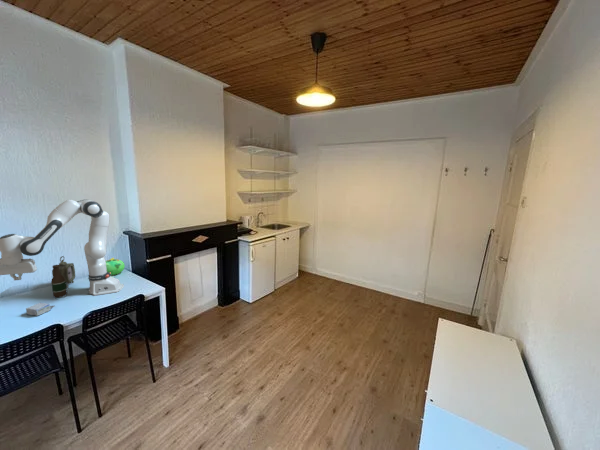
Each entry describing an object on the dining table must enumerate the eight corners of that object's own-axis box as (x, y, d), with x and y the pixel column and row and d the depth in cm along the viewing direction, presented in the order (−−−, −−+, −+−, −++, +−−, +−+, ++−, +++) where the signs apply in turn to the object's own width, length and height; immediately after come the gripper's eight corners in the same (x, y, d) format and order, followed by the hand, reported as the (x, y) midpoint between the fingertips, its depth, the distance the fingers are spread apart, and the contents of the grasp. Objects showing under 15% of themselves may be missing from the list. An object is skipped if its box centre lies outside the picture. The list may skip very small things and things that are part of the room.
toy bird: (126, 269, 243) (124, 255, 240) (124, 276, 228) (122, 260, 225) (102, 272, 234) (100, 257, 231) (99, 279, 219) (97, 263, 216)
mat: (55, 305, 177) (55, 305, 177) (47, 312, 168) (47, 312, 168) (40, 307, 174) (40, 306, 174) (31, 314, 166) (31, 313, 166)
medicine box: (26, 314, 165) (37, 316, 164) (25, 308, 164) (36, 310, 163) (41, 308, 173) (51, 310, 171) (40, 302, 172) (50, 304, 170)
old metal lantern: (69, 288, 201) (64, 259, 196) (54, 290, 198) (49, 260, 193) (76, 281, 214) (72, 253, 209) (62, 282, 211) (58, 254, 206)
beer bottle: (55, 298, 186) (50, 268, 181) (52, 295, 190) (46, 265, 185) (69, 294, 192) (64, 264, 187) (65, 292, 196) (60, 262, 191)
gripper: (36, 256, 167) (41, 276, 170) (-4, 259, 161) (1, 279, 164) (30, 260, 161) (34, 280, 164) (-13, 262, 155) (-7, 283, 158)
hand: (17, 279), depth 164 cm, fingers closed
